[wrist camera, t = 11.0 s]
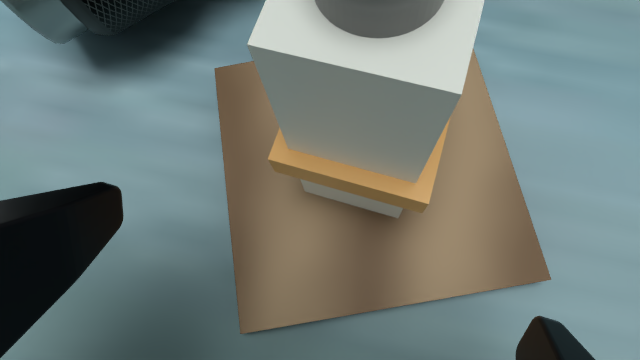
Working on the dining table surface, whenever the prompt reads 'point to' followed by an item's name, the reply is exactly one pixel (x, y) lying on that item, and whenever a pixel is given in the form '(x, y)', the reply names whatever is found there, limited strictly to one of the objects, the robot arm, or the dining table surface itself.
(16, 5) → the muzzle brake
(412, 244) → the pad
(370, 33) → the plug
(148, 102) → the dining table surface
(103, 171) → the dining table surface
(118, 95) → the dining table surface
